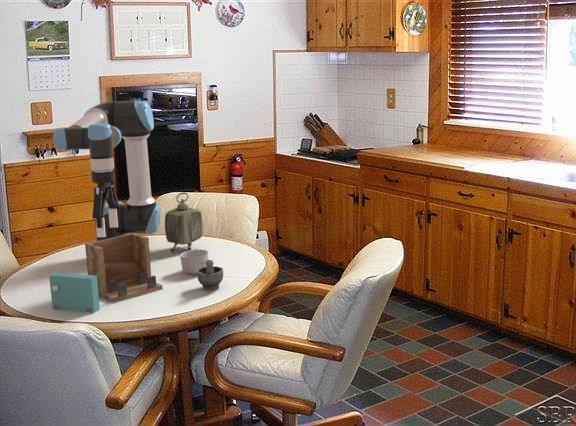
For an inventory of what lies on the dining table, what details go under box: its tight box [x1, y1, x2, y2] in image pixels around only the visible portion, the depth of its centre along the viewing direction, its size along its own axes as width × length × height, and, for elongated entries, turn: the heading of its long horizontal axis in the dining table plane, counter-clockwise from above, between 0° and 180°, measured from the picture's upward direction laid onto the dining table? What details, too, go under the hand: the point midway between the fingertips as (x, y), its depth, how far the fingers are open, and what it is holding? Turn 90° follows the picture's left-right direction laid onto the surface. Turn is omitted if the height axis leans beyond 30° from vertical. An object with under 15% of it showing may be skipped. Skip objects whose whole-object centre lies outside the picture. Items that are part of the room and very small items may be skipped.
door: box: [48, 272, 101, 314], centre depth 252 cm, size 5×16×12 cm, turn 73°
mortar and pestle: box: [196, 259, 224, 292], centre depth 270 cm, size 11×9×12 cm
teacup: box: [179, 248, 210, 276], centre depth 291 cm, size 14×11×8 cm
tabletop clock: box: [164, 192, 203, 253], centre depth 319 cm, size 14×9×25 cm, turn 144°
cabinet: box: [84, 233, 164, 304], centre depth 270 cm, size 17×20×18 cm
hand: (107, 232), depth 257 cm, fingers open, 13 cm apart
